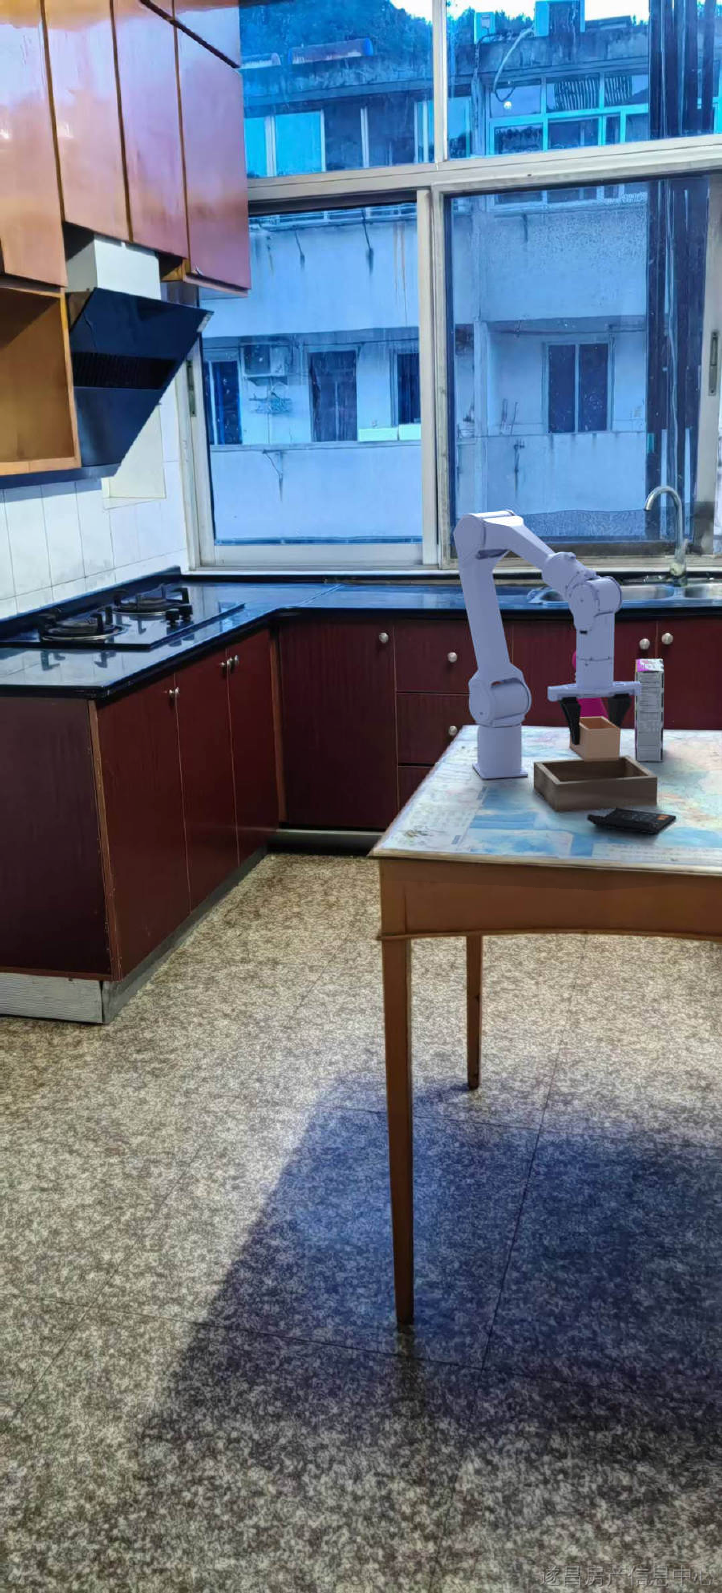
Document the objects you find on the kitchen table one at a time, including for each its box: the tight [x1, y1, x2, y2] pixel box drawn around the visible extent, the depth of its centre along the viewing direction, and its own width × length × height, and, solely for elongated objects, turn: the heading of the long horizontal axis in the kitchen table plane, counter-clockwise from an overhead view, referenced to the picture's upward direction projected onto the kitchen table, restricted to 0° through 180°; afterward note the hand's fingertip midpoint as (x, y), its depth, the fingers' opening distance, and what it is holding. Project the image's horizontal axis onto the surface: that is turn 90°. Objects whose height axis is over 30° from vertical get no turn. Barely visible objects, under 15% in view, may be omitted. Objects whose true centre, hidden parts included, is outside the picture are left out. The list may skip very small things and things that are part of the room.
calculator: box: [586, 808, 677, 835], centre depth 186 cm, size 9×12×3 cm
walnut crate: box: [533, 754, 658, 813], centre depth 201 cm, size 14×16×4 cm
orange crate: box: [568, 717, 622, 762], centre depth 199 cm, size 9×5×5 cm, turn 7°
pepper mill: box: [572, 650, 609, 720], centre depth 231 cm, size 7×7×20 cm
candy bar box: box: [634, 658, 665, 763], centre depth 223 cm, size 11×5×16 cm, turn 168°
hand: (594, 742), depth 199 cm, fingers closed on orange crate, 5 cm apart
